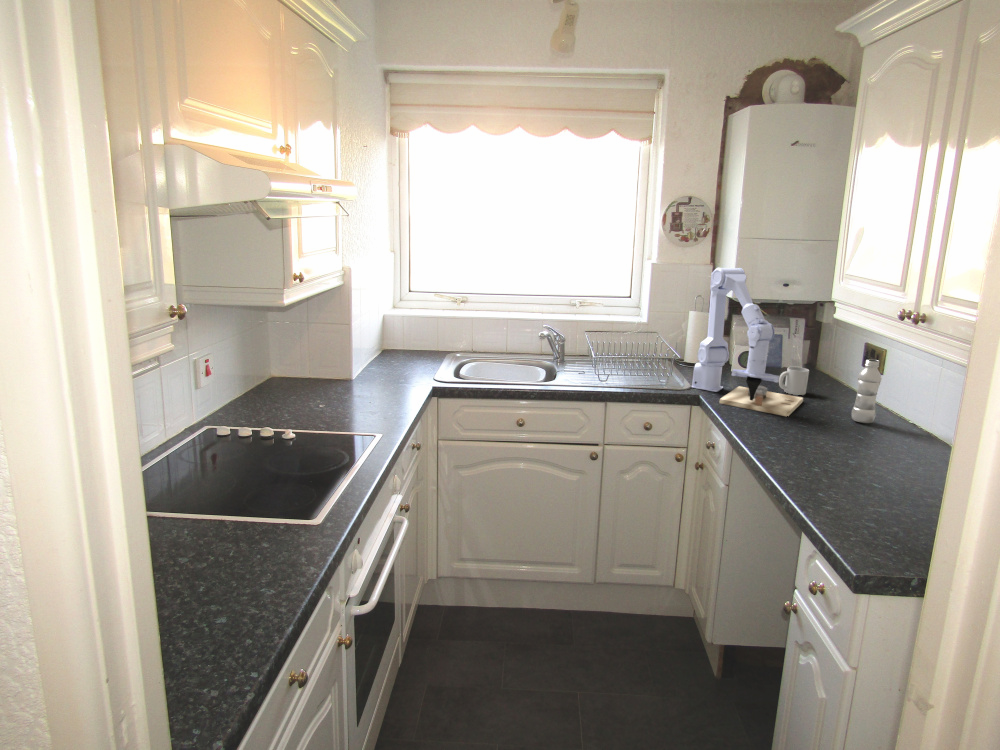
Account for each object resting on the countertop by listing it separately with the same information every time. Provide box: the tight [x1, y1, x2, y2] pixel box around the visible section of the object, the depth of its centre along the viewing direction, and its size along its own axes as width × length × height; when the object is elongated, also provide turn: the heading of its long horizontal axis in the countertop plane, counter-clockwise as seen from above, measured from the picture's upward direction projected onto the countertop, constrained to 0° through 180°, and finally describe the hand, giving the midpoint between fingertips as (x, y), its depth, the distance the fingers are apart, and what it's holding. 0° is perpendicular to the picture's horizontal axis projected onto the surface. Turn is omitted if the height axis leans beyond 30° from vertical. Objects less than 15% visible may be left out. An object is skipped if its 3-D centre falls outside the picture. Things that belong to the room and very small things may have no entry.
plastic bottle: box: [851, 358, 883, 424], centre depth 213 cm, size 6×7×20 cm
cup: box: [778, 366, 810, 396], centre depth 246 cm, size 7×10×9 cm
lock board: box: [718, 385, 804, 417], centre depth 233 cm, size 22×22×2 cm
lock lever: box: [748, 385, 768, 405], centre depth 230 cm, size 15×6×3 cm, turn 162°
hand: (751, 399), depth 227 cm, fingers closed
